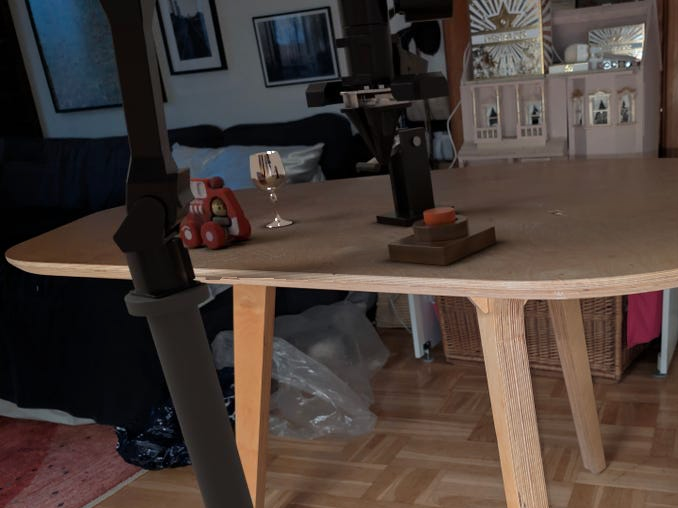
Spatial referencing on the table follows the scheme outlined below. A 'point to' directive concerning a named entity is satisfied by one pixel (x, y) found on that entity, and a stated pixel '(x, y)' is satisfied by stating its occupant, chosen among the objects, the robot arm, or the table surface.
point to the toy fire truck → (213, 215)
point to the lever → (373, 163)
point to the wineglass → (269, 178)
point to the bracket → (410, 180)
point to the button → (439, 216)
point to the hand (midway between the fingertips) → (384, 164)
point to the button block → (441, 242)
